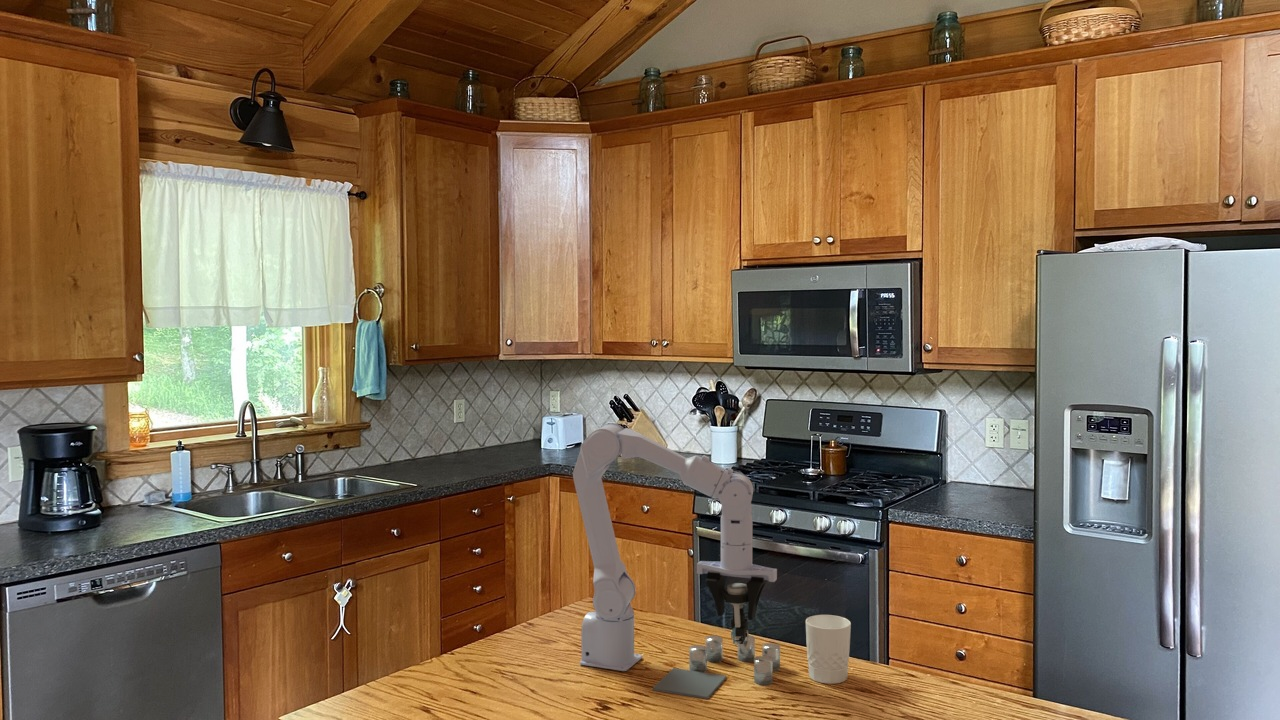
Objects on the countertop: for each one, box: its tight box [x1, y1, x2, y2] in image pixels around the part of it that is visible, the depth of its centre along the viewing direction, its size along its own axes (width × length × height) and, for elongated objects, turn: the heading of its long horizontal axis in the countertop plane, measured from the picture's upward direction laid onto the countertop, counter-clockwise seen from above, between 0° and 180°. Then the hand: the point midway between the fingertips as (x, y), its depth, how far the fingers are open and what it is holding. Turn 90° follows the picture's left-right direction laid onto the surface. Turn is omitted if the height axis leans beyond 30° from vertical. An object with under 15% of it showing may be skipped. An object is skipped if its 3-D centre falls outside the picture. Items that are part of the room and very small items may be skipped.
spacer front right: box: [753, 655, 774, 686], centre depth 167 cm, size 3×3×4 cm
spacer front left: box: [688, 644, 708, 673], centre depth 173 cm, size 3×3×4 cm
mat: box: [652, 667, 727, 700], centre depth 166 cm, size 10×10×1 cm
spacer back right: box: [761, 642, 781, 672], centre depth 174 cm, size 3×3×4 cm
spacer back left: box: [704, 635, 724, 664], centre depth 178 cm, size 3×3×4 cm
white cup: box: [805, 614, 852, 685], centre depth 169 cm, size 8×8×10 cm
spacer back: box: [737, 634, 756, 663], centre depth 178 cm, size 3×3×4 cm
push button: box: [723, 582, 750, 646], centre depth 172 cm, size 7×5×10 cm
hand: (736, 616), depth 172 cm, fingers closed on push button, 5 cm apart
